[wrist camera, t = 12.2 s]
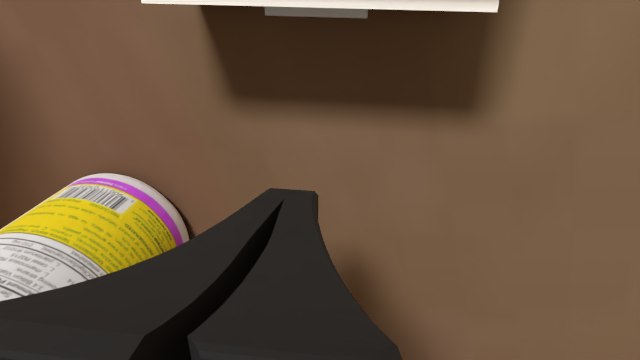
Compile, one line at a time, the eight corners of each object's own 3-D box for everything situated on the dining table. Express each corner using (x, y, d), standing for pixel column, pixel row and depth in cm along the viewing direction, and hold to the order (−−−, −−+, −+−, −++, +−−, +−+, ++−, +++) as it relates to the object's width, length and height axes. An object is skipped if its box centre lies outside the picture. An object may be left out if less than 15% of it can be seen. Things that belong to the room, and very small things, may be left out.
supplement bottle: (131, 299, 22) (-137, 640, 11) (39, 207, 20) (-410, 502, 9) (223, 251, 20) (6, 621, 8) (129, 141, 18) (-322, 426, 6)
